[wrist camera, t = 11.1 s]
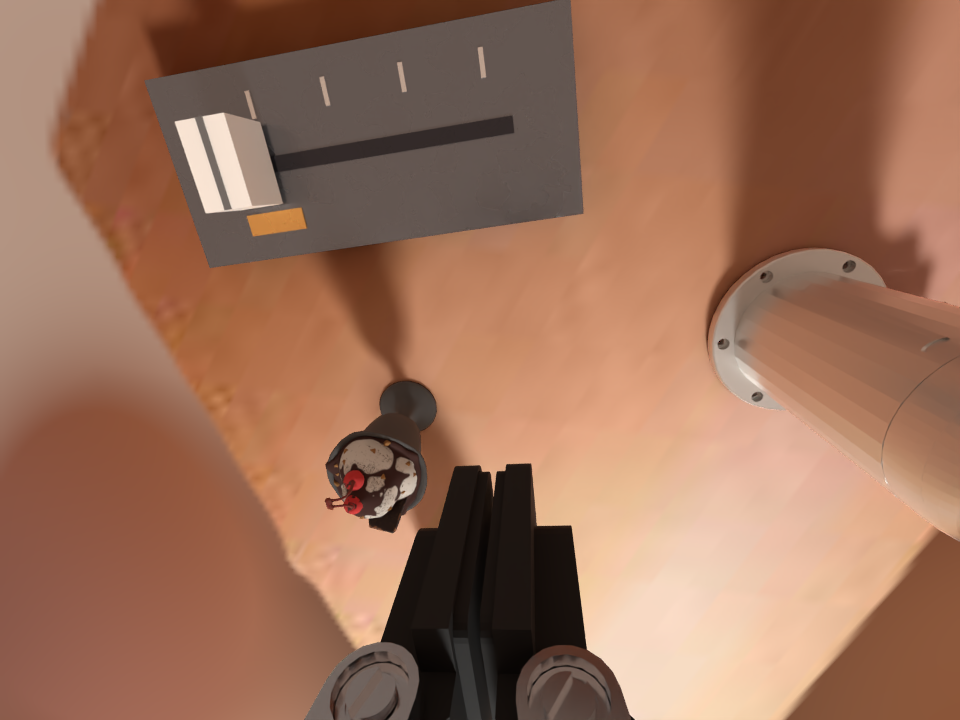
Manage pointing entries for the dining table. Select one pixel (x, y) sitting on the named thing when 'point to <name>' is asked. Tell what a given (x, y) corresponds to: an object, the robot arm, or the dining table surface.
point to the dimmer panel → (394, 134)
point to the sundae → (384, 459)
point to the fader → (229, 162)
